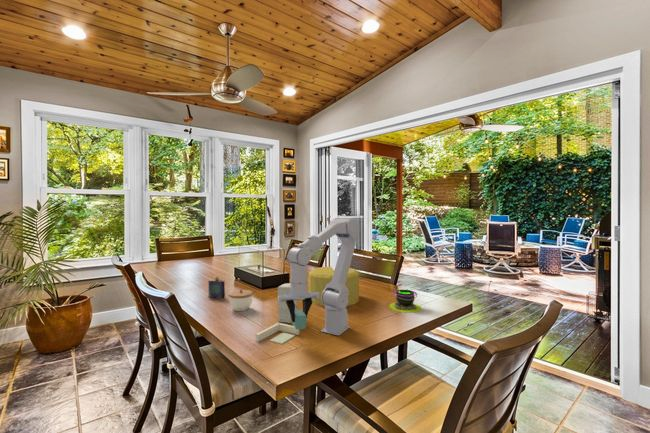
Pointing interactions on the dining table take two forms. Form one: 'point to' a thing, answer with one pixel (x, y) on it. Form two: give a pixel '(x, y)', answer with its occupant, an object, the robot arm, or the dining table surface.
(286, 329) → the corner walls
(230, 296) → the lidded jar
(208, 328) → the dining table surface
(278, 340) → the pad
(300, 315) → the teal brick
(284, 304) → the skincare box
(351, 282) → the cheese
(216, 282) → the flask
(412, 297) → the toy cauldron
